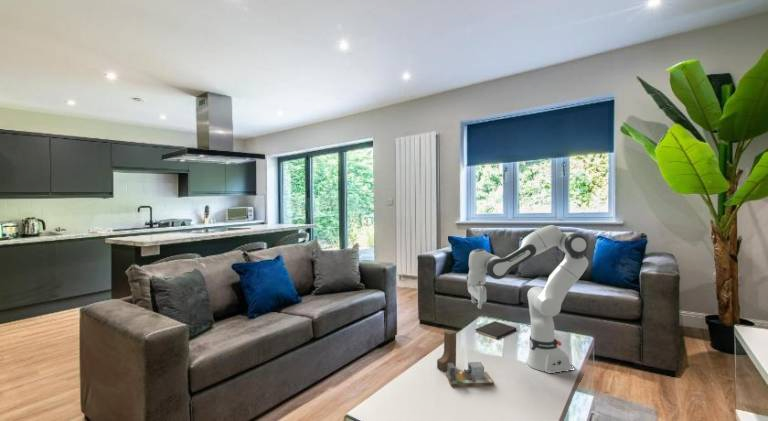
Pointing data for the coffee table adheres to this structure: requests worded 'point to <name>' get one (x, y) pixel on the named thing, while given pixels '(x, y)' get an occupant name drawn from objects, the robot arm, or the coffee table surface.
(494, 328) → the hardcover book
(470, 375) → the block
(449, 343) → the wooden block
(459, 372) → the amber brick
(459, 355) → the coffee table surface
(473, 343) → the coffee table surface
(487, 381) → the bench
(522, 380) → the coffee table surface
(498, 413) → the coffee table surface
